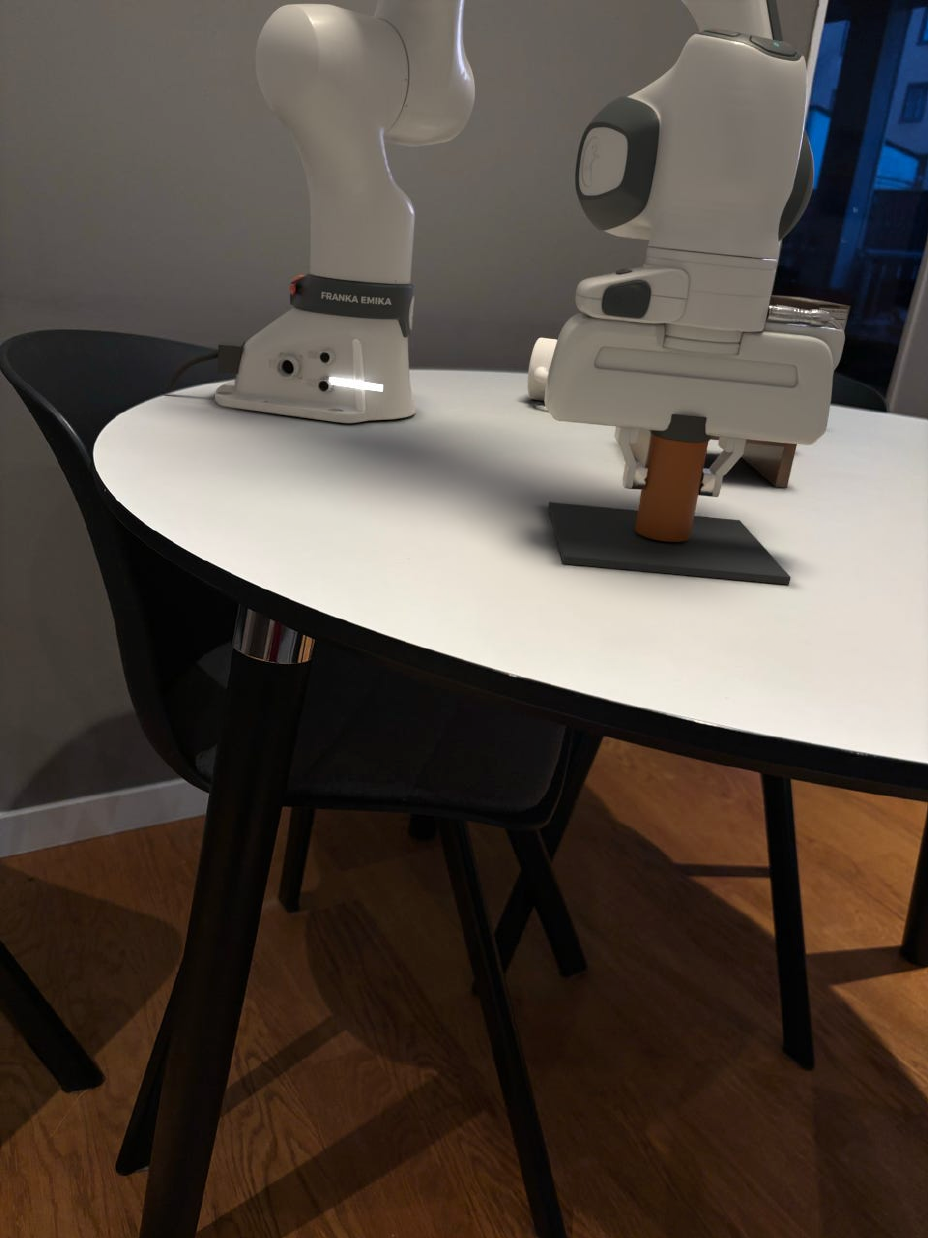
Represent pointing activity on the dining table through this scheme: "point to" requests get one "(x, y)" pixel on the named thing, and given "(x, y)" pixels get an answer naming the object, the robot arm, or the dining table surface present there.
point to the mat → (661, 545)
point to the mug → (540, 367)
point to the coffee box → (814, 307)
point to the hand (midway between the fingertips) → (669, 491)
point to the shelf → (744, 456)
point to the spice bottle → (673, 479)
